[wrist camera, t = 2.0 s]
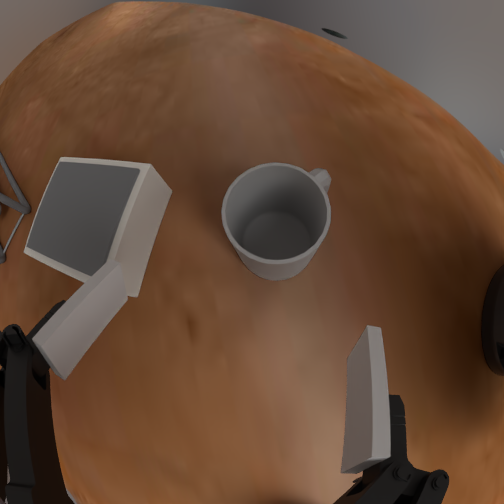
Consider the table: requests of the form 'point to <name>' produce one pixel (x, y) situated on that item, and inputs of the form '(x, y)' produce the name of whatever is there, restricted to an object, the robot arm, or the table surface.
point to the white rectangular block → (99, 218)
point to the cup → (277, 218)
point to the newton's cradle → (12, 203)
